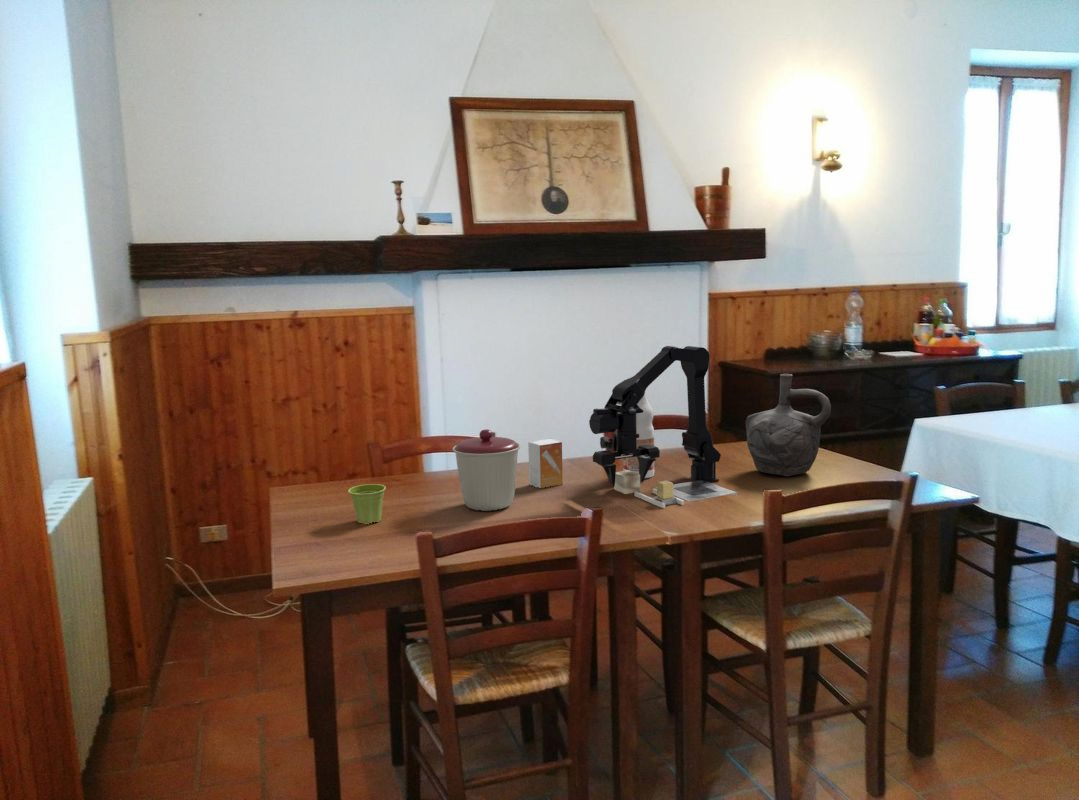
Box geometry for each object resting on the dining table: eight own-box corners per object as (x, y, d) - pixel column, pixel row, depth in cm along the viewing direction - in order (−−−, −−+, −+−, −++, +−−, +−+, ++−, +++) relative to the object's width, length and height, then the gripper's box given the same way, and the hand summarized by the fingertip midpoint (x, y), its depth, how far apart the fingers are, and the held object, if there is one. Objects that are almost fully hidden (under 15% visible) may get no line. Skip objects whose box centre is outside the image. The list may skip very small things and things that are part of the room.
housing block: (628, 490, 234) (628, 470, 233) (640, 495, 229) (640, 474, 228) (613, 493, 232) (613, 472, 231) (624, 498, 227) (624, 476, 226)
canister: (517, 494, 233) (514, 421, 230) (527, 512, 215) (524, 433, 212) (453, 499, 230) (449, 425, 227) (458, 518, 212) (454, 438, 209)
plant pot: (380, 527, 207) (377, 493, 205) (344, 526, 208) (342, 493, 207) (392, 516, 216) (391, 484, 214) (358, 515, 217) (356, 483, 216)
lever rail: (654, 496, 227) (654, 488, 227) (684, 508, 215) (684, 500, 214) (634, 499, 225) (634, 491, 224) (663, 512, 212) (663, 504, 212)
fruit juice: (637, 481, 244) (636, 387, 240) (617, 475, 252) (615, 384, 248) (661, 475, 250) (660, 384, 245) (640, 470, 257) (639, 381, 253)
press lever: (667, 499, 220) (667, 479, 219) (676, 503, 216) (676, 483, 215) (653, 502, 218) (653, 481, 217) (662, 505, 214) (662, 485, 213)
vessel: (828, 466, 255) (830, 370, 250) (829, 484, 234) (832, 379, 230) (747, 463, 262) (748, 369, 258) (742, 480, 242) (743, 378, 237)
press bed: (701, 483, 239) (701, 479, 239) (736, 496, 224) (737, 492, 224) (654, 491, 232) (654, 487, 232) (688, 505, 218) (688, 500, 218)
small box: (540, 489, 238) (539, 445, 236) (528, 484, 244) (527, 441, 241) (563, 484, 243) (562, 441, 241) (551, 480, 248) (550, 438, 246)
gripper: (639, 422, 239) (639, 474, 241) (582, 428, 231) (583, 482, 233) (660, 428, 229) (661, 482, 231) (602, 435, 221) (603, 491, 223)
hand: (627, 484), depth 230 cm, fingers open, 9 cm apart
